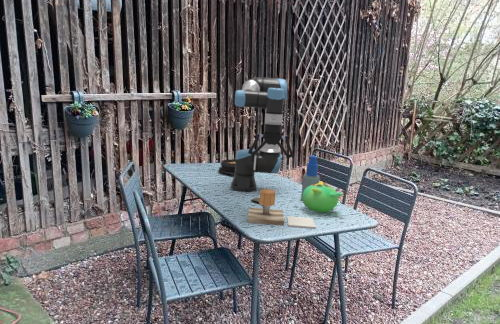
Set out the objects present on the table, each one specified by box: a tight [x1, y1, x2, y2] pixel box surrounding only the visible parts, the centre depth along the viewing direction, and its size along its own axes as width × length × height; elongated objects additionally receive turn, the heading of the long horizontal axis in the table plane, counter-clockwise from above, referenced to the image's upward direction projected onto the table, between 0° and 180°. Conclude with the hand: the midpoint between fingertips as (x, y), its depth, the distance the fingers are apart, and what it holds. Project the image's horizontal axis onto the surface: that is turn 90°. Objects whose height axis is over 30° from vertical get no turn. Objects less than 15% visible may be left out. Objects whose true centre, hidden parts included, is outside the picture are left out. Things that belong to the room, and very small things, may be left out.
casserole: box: [218, 159, 236, 176], centre depth 263 cm, size 25×19×8 cm
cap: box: [258, 188, 276, 207], centre depth 174 cm, size 7×7×6 cm
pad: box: [286, 215, 317, 230], centre depth 173 cm, size 12×12×1 cm
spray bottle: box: [300, 154, 321, 202], centre depth 208 cm, size 9×9×25 cm
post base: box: [247, 205, 285, 226], centre depth 175 cm, size 16×16×12 cm
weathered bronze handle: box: [251, 197, 260, 203], centre depth 195 cm, size 22×3×7 cm
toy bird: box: [301, 180, 344, 213], centre depth 191 cm, size 18×17×15 cm
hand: (269, 170), depth 172 cm, fingers open, 13 cm apart
